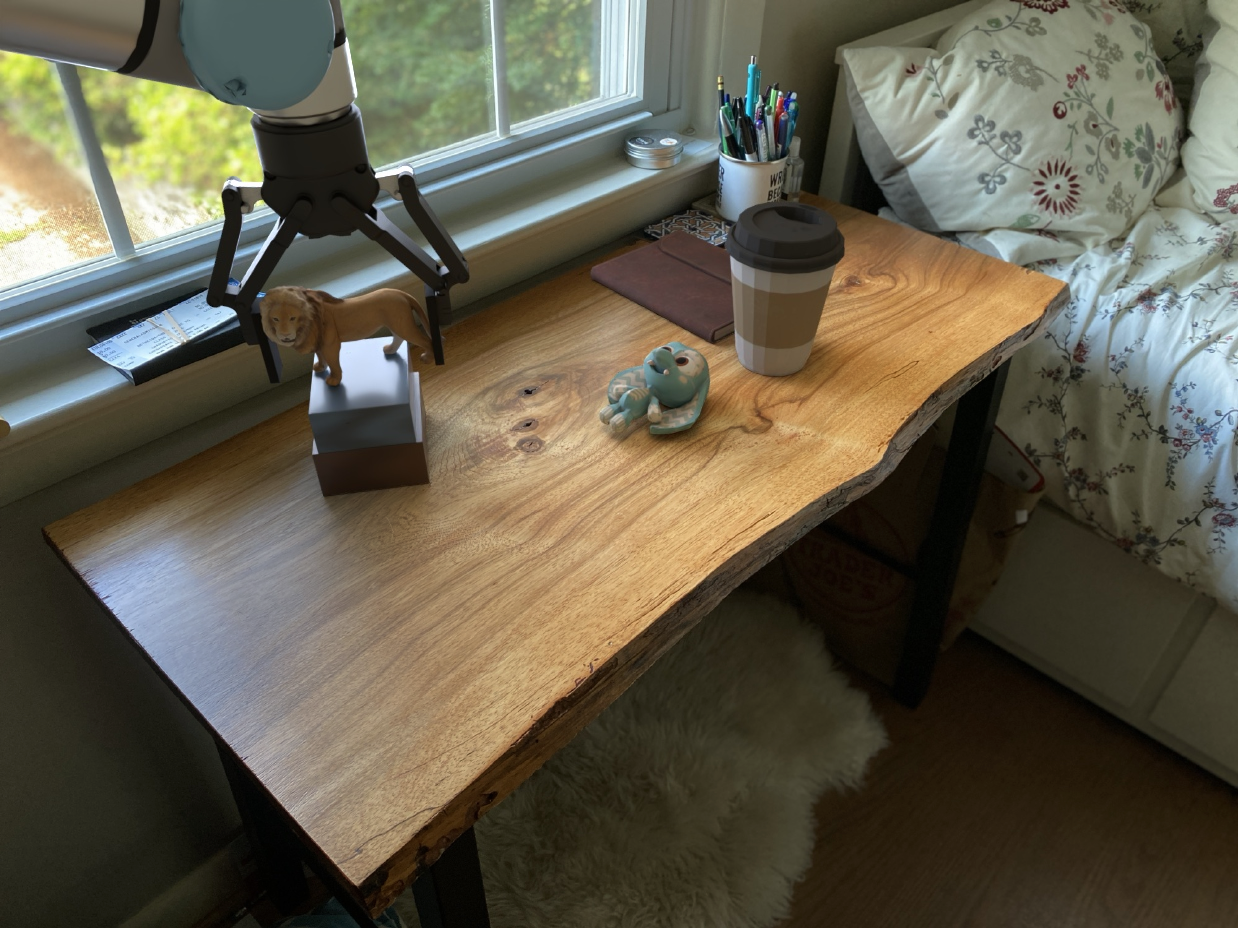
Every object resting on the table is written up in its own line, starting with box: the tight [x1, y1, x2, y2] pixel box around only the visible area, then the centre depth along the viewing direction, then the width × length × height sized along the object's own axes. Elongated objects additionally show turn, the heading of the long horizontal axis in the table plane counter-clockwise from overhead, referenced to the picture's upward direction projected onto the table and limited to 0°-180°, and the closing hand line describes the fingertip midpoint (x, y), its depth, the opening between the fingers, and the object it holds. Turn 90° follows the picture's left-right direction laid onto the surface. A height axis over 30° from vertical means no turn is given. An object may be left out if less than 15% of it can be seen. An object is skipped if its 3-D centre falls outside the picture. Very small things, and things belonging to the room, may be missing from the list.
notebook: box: [590, 229, 735, 344], centre depth 107 cm, size 15×20×2 cm
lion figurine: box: [259, 284, 447, 386], centre depth 77 cm, size 15×5×9 cm, turn 123°
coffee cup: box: [724, 201, 846, 377], centre depth 92 cm, size 11×11×15 cm
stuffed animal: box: [598, 340, 711, 435], centre depth 87 cm, size 11×7×12 cm
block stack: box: [307, 336, 430, 497], centre depth 82 cm, size 9×11×8 cm
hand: (359, 366), depth 79 cm, fingers closed on lion figurine, 13 cm apart
